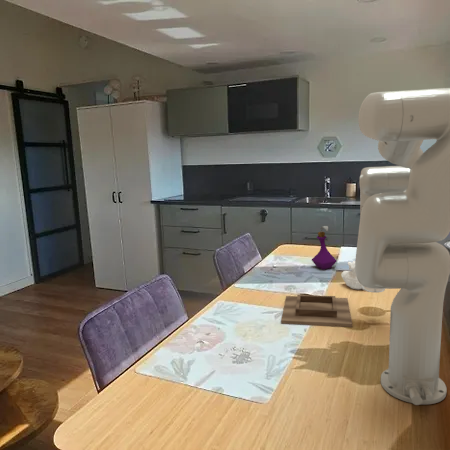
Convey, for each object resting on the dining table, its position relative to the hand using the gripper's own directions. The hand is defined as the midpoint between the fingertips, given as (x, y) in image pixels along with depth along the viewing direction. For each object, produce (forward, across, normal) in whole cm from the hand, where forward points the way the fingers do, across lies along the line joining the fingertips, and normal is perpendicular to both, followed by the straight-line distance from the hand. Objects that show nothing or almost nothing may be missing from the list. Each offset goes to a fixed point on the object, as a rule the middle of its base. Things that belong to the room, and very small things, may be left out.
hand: (373, 273), depth 116 cm
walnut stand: (+14, +5, +16) cm, 22 cm away
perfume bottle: (+13, +52, +13) cm, 55 cm away
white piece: (+5, 0, 0) cm, 5 cm away
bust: (+14, +28, +2) cm, 31 cm away
